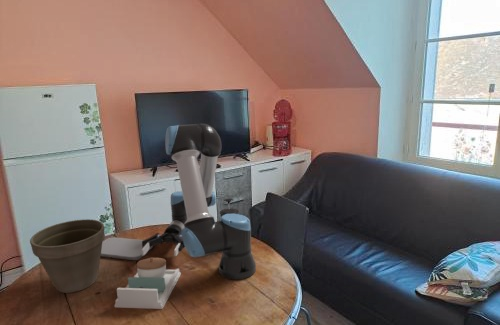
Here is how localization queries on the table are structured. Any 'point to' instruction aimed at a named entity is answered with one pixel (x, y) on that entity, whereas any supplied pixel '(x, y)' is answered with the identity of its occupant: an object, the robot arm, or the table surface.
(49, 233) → the plant pot
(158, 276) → the lidded jar
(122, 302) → the pusher lane
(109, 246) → the tablet
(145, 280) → the pusher plate
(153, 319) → the table surface
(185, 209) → the robot arm
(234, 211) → the french press
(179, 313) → the table surface
